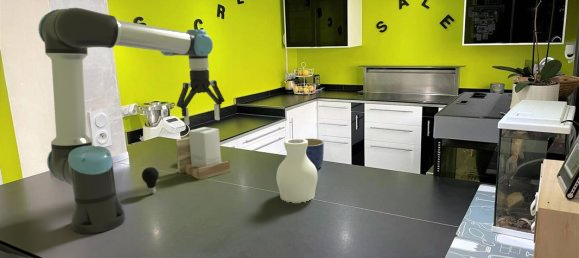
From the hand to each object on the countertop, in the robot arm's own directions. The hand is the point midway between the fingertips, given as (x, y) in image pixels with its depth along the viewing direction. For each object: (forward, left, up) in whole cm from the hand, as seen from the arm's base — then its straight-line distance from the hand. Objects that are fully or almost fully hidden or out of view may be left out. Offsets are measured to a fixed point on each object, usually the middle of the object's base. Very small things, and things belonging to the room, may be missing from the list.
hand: (202, 122), depth 175 cm
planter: (-25, -35, -22) cm, 48 cm away
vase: (-47, -10, -22) cm, 53 cm away
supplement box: (0, 0, -18) cm, 18 cm away
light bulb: (-9, +27, -21) cm, 35 cm away
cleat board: (+1, 0, -21) cm, 21 cm away
